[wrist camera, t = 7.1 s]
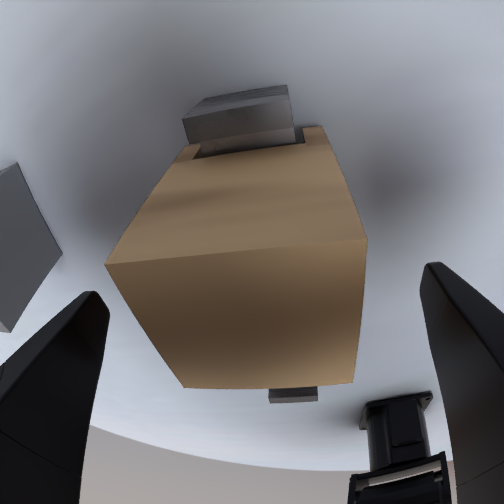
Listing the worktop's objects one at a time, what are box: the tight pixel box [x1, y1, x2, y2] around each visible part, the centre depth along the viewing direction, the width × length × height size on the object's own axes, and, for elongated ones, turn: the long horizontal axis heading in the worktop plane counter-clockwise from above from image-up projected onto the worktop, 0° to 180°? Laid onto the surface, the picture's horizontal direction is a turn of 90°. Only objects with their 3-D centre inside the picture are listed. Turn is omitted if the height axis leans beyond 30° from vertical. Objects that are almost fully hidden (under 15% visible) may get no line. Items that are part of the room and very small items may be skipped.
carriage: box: [104, 126, 367, 389], centre depth 10 cm, size 5×5×7 cm
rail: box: [182, 85, 318, 403], centre depth 14 cm, size 17×3×3 cm, turn 10°
